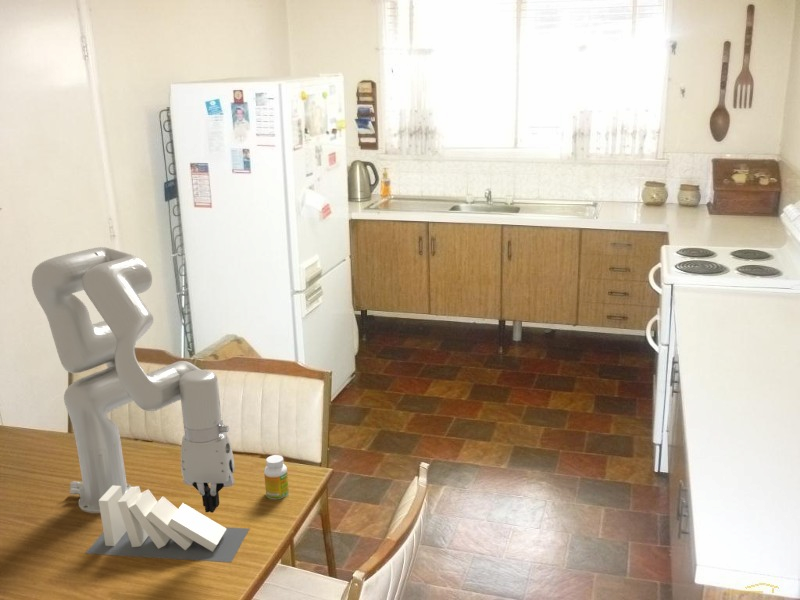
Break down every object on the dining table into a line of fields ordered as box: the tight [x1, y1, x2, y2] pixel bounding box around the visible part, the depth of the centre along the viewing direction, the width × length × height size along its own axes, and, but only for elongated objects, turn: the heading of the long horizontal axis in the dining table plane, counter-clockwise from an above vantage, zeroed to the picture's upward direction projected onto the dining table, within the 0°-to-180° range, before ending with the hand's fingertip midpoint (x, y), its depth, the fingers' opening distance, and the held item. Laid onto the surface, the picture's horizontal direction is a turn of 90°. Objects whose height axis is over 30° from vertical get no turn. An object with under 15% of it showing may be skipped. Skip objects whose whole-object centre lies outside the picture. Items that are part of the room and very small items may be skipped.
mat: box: [85, 526, 250, 563], centre depth 164 cm, size 32×12×1 cm, turn 83°
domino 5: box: [168, 502, 226, 552], centre depth 162 cm, size 2×6×11 cm
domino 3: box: [129, 488, 170, 549], centre depth 163 cm, size 2×6×11 cm, turn 172°
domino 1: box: [99, 485, 127, 546], centre depth 164 cm, size 2×6×11 cm, turn 173°
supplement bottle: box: [263, 454, 290, 500], centre depth 181 cm, size 5×5×10 cm
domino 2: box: [118, 485, 149, 547], centre depth 164 cm, size 2×6×11 cm, turn 172°
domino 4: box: [146, 496, 193, 550], centre depth 163 cm, size 2×6×11 cm
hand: (211, 508), depth 161 cm, fingers closed
